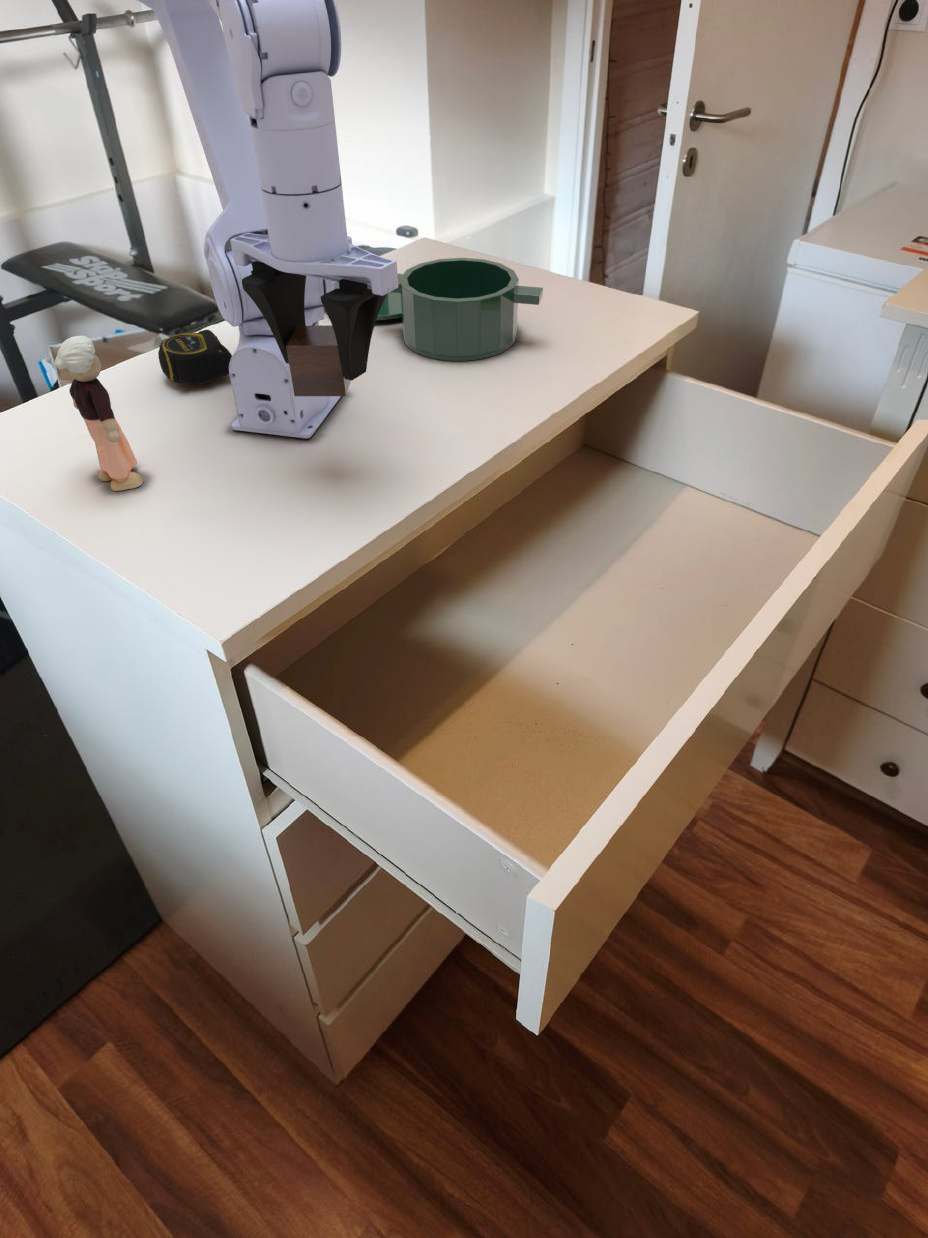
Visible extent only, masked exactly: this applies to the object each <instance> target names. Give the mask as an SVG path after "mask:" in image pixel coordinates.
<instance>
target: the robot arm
mask: <svg viewBox="0 0 928 1238" xmlns="http://www.w3.org/2000/svg"><path fill="white" fill-rule="evenodd" d="M136 1H137V2H139V3H141V4H142V5H144V6H146V7H147V8H149V9H151V10H152V11H153V12H154V14H155V17H156V19H157V21H158V24H159V26H160V28H161V30H162V33H163V35H164V37H165V39H166V41H167V44H168V46H169V49H170V52H171V55H172V59H173V61H174V63H175V67H176V71H177V73H178V76H179V80H180V82H181V86H182V89H183V91H184V95H185V98H186V101H187V105H188V107H189V109H190V110H189V111H190V113H191V116H192V119H193V121H194V126H195V128H196V131H197V134H198V137H199V140H200V143H201V147H202V150H203V152H204V156H205V159H206V162H207V165H208V169H209V171H210V174H211V177H212V181H213V183H214V187H215V190H216V192H217V196H218V199H219V202H220V205H221V208H222V211H221V213H220V214H219V215H218V217H216V219H215V220H214V222H213V223H212V224H211V226H209V228H208V230H207V231H206V233H205V235H204V237H205V238H204V244H203V253H204V254H203V255H204V258H205V259H204V260H205V262H206V265H207V268H208V277H209V281H210V285H211V289H212V293H213V296H214V299H215V302H216V306H217V308H218V310H219V313H220V314H221V317H222V318H223V320H224V321H225V322H227V323H228V324H229V325H231V327H234V328H236V327H238V332H239V338H238V344H237V347H236V348H235V351H234V352H233V354H232V357H231V360H230V363H229V374H228V376H229V380H230V384H231V385H230V386H231V389H232V394H233V399H234V404H235V408H236V414H237V417H236V418H235V419H234V420H233V422H232V423H231V425H230V426H231V429H232V430H234V431H240V432H249V433H257V434H264V435H266V434H267V435H274V436H282V437H289V438H290V437H291V438H299V439H310V438H311V437H312V436H313V435H314V434H315V432H316V431H317V429H318V428H319V427H320V426H321V424H322V423H323V422H324V420H325V419H326V417H327V416H328V414H329V413H330V412H331V411H332V410H333V408H334V407H335V405H336V404H337V403H338V402H339V400H340V399H341V397H342V396H294V391H293V385H292V379H291V373H290V366H289V360H288V354H287V348H286V346H287V344H288V342H289V340H290V338H291V336H292V334H293V332H294V330H295V328H296V326H320V321H324V320H325V314H324V313H325V312H326V314H327V316H328V318H329V321H330V324H331V326H332V327H333V330H334V333H335V337H336V340H337V345H338V352H339V358H340V364H341V369H342V371H343V375H344V378H345V379H347V380H351V381H354V380H355V379H357V378H359V377H361V376H362V375H364V374H365V373H367V368H368V367H367V366H368V361H369V353H370V346H371V342H372V338H373V333H374V328H375V325H376V322H377V320H376V319H377V316H378V314H379V311H380V309H381V306H382V304H383V302H384V300H385V297H386V295H387V293H389V292H391V291H393V290H395V289H396V288H398V274H399V273H398V262H397V260H394V259H390V258H386V257H383V256H380V255H377V254H375V253H373V252H370V251H368V250H366V249H363V248H361V247H358V246H357V245H354V244H353V239H352V237H351V236H349V235H348V230H347V229H348V228H347V220H346V211H345V202H344V192H343V183H342V174H341V173H342V172H341V164H340V163H341V162H340V156H339V155H340V154H339V146H338V145H339V144H338V137H337V135H338V134H337V126H336V125H337V124H336V116H335V106H334V96H333V88H332V80H331V78H333V77H334V76H336V75H337V74H338V71H339V69H340V66H341V59H342V31H341V22H340V17H339V11H338V6H337V3H336V0H136ZM334 282H338V283H339V289H338V288H336V289H334ZM324 310H325V312H324Z"/></svg>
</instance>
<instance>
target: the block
mask: <svg viewBox="0 0 928 1238" xmlns="http://www.w3.org/2000/svg"><path fill="white" fill-rule="evenodd" d="M286 348H287V354H288V360H289V366H290V373H291V379H292V385H293V391H294V396H341V397H347V394H348V391H349V388H350V385H351V382H352V380H347V379H345V378H344V375H343V371H342V369H341V364H340V358H339V352H338V345H337V340H336V337H335V333H334V330H333V327H332V325H319V326H296V328H295V330H294V332H293V334H292V336H291V338H290V340H289V342H288V344H287V346H286Z"/></svg>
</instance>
